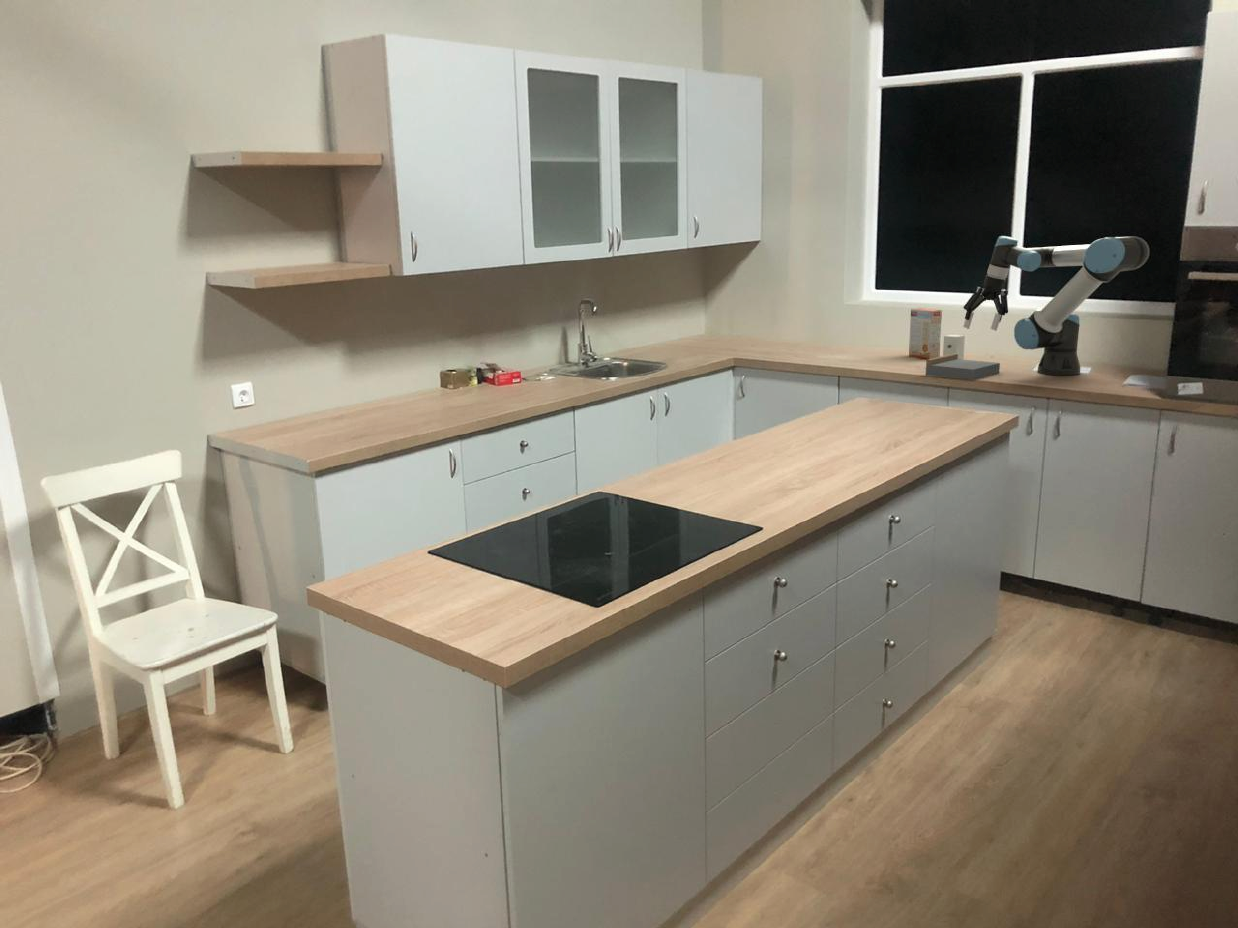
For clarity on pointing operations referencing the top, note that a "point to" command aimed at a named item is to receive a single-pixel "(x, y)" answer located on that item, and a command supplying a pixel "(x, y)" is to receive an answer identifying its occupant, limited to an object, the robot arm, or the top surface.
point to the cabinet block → (954, 345)
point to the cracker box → (925, 333)
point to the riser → (960, 367)
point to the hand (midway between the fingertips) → (979, 328)
